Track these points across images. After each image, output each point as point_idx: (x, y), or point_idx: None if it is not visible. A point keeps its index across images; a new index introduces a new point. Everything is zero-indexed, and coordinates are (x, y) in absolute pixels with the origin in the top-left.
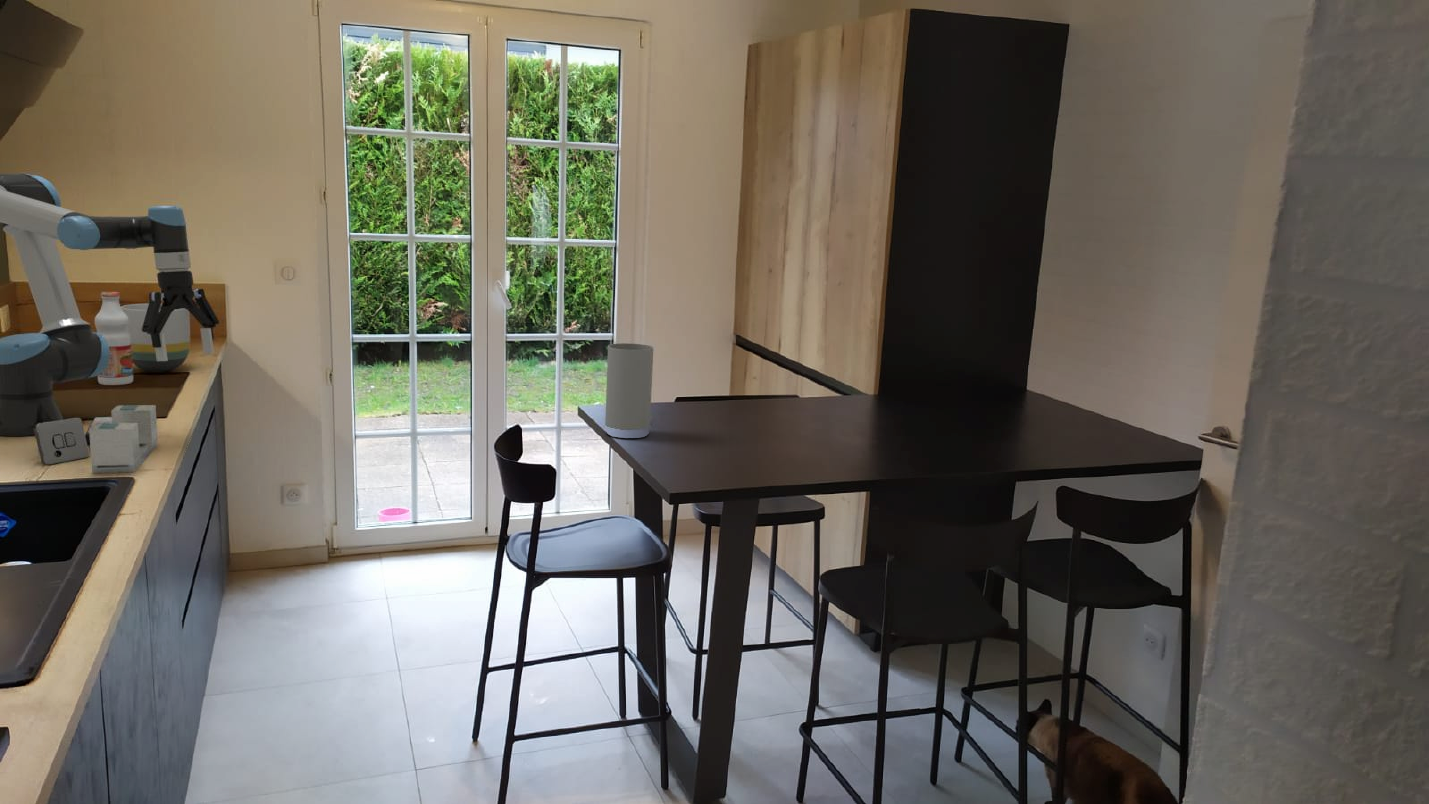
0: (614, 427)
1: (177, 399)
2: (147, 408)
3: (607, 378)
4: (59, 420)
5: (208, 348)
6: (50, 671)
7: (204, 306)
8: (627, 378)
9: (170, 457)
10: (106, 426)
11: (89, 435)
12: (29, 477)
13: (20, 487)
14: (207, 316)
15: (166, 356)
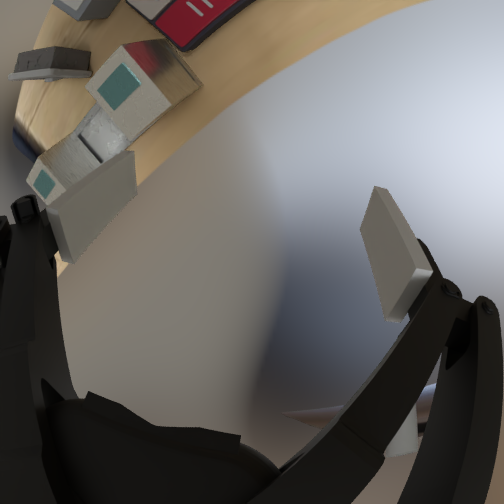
0: None
1: None
2: (138, 120)
3: (399, 431)
4: (26, 74)
5: (370, 230)
6: None
7: (425, 450)
8: None
9: (156, 166)
10: (40, 187)
11: (129, 4)
12: (26, 113)
13: (15, 140)
14: (460, 359)
15: (126, 202)
